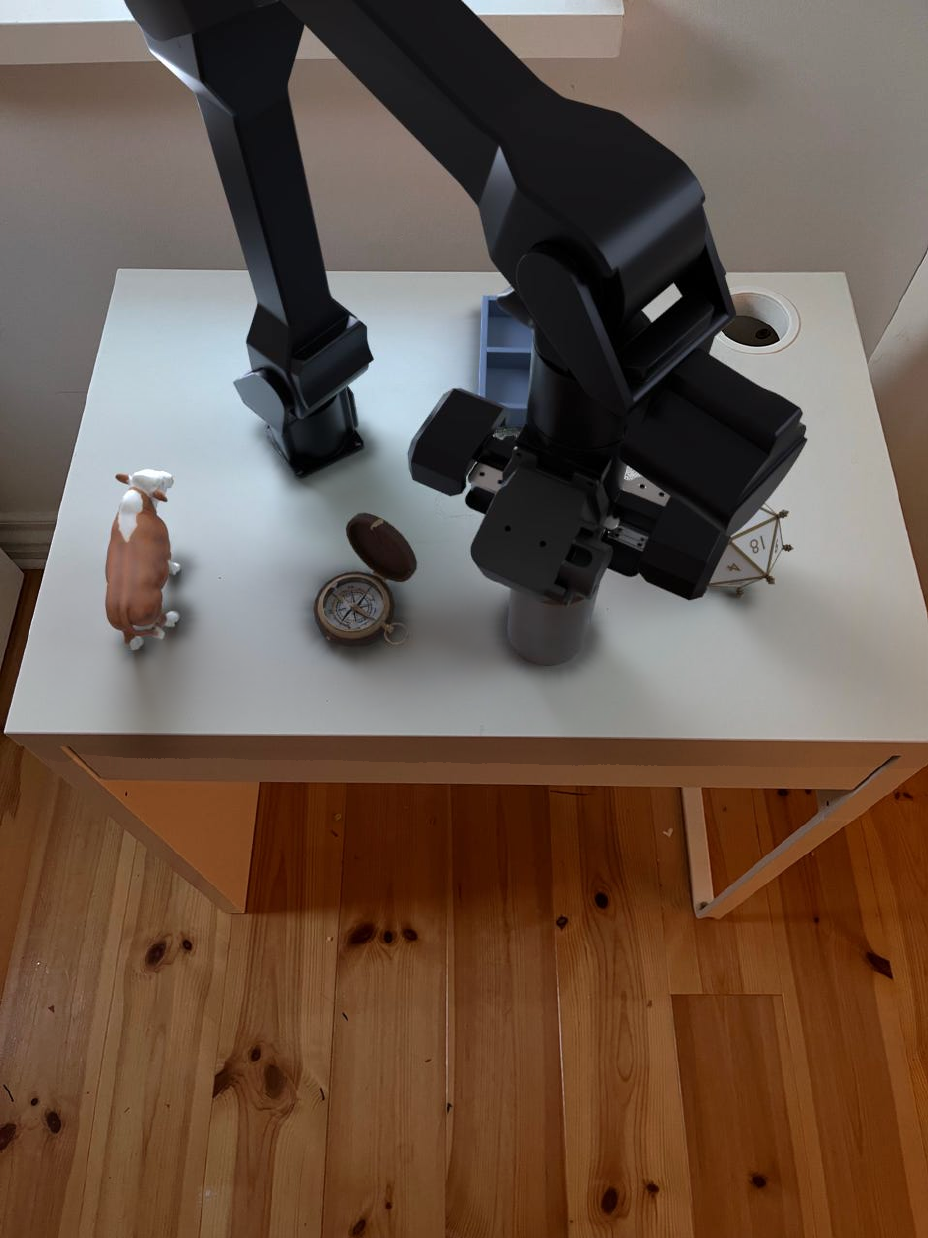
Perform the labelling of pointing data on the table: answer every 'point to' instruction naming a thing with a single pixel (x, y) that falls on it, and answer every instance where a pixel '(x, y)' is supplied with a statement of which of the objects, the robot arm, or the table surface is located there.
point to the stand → (548, 627)
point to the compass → (366, 584)
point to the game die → (751, 552)
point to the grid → (504, 360)
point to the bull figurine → (139, 559)
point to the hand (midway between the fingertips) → (557, 562)
